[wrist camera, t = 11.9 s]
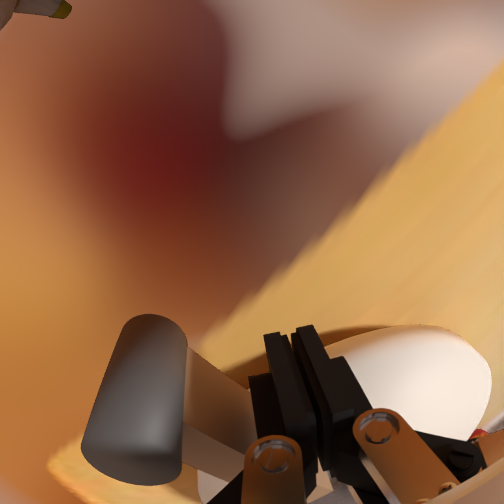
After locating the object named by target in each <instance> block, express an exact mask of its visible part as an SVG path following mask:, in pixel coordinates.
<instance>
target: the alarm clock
mask: <svg viewBox="0 0 504 504" xmlns="http://www.w3.org/2000/svg"><path fill="white" fill-rule="evenodd" d="M71 9H72V6H71V5H70V4H68V3H67V2H66V1H65V0H0V30H1V29H2V28H3V27H4V26H5V25H6V23H7V22H8V21H9V20H10V18H11V16H12V14H13V12H15V13H26V14H35V15H44V16H49V17H52V18H61V19H64V18H66V17H67V16H68V15H69V13H70V12H71Z"/></svg>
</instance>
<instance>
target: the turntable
mask: <svg viewBox="0 0 504 504" xmlns="http://www.w3.org/2000/svg"><path fill="white" fill-rule="evenodd" d="M324 348H325V350H326V352H327V354H328V356H329V358H330V359H331V358H335V357H339V356H343V357H344V358H345V359H346V361H347V362H348V364H349V366H350V368H351V370H352V371H353V373H354V375H355V377H356V378H357V380H358V382H359V384H360V386H361V387H362V389H363V391H364V393H365V395H366V396H367V398H368V400H369V402H370V404H371V406H372V407H373V409H375V408H386V409H391V410H393V411H396V412H397V413H398V414H400V415H401V416H402V417H403V418H404V420H405V421H406V422H407V423H408V424H409V425H410V426H411V427H412V429H413V430H416V431H420V432H424V433H429V434H433V435H438V436H442V437H447V438H452V439H457V440H463V441H467V440H468V439H469V437H470V436H471V434H472V433H473V431H474V430H475V428H476V427H477V425H478V423H479V422H480V420H481V418H482V416H483V414H484V412H485V409H486V406H487V404H488V401H489V397H490V392H491V382H492V378H491V372H490V369H489V366H488V364H487V362H486V361H485V360H484V358H483V357H482V356H481V355H480V354H479V353H478V352H477V351H476V350H474V349H473V348H472V347H471V346H470V345H469V344H468V343H467V342H466V341H465V340H464V339H463V338H461V337H460V336H459V335H457V334H455V333H454V332H452V331H450V330H447V329H444V328H441V327H438V326H430V325H421V324H419V325H400V326H394V327H389V328H383V329H377V330H374V331H370V332H366V333H363V334H359V335H355V336H352V337H349V338H347V339H344V340H341V341H338V342H336V343H333V344H330V345H327V346H325V347H324ZM256 440H258V439H257V432H256V426H255V419H254V413H253V406H252V399H251V393H250V388H249V389H248V390H246V389H245V388H243V387H242V386H241V385H239V384H238V383H236V382H235V381H234V380H232V379H231V378H229V377H228V376H227V375H225V374H224V373H222V372H221V371H220V370H218V369H217V368H216V367H214V366H213V365H212V364H210V363H209V362H208V361H206V360H205V359H204V358H202V357H201V356H200V355H198V354H197V353H196V352H194V351H193V350H192V349H191V348H189V347H188V344H187V339H186V336H185V334H184V333H183V331H182V329H181V328H180V327H179V326H178V325H177V324H176V323H174V322H173V321H171V320H170V319H168V318H165V317H163V316H159V315H155V314H143V315H138V316H136V317H133V318H132V319H130V320H129V321H128V322H127V323H126V324H125V325H124V327H123V328H122V331H121V333H120V336H119V338H118V341H117V343H116V346H115V348H114V351H113V353H112V356H111V359H110V361H109V364H108V367H107V369H106V372H105V375H104V377H103V380H102V383H101V386H100V388H99V391H98V394H97V397H96V400H95V403H94V406H93V409H92V411H91V415H90V418H89V421H88V424H87V427H86V430H85V433H84V436H83V439H82V443H81V451H82V454H83V456H84V457H85V459H86V460H87V461H88V462H89V463H90V464H91V465H92V466H93V467H94V468H96V469H97V470H98V471H100V472H101V473H103V474H105V475H107V476H109V477H111V478H114V479H116V480H119V481H122V482H126V483H130V484H135V485H144V486H154V485H162V484H166V483H169V482H171V481H173V480H175V479H176V478H177V477H178V476H179V475H180V473H181V470H182V462H183V463H185V464H187V465H190V466H192V467H194V468H196V469H197V473H198V493H199V496H200V499H201V501H202V503H203V504H207V503H208V502H209V501H210V500H211V499H212V498H213V497H214V496H215V495H217V494H218V493H219V492H220V491H221V490H222V489H223V488H224V487H225V486H226V485H227V484H228V483H229V482H230V481H232V480H233V479H234V478H235V477H236V476H237V475H238V474H239V473H240V472H241V471H242V470H243V469H244V459H245V454H246V451H247V450H248V448H249V447H250V445H251V444H253V443H254V442H255V441H256ZM316 484H317V487H316V488H315V489H314V490H313V492H312V493H311V494H310V496H309V497H308V498H307V504H308V503H310V502H312V501H314V500H316V499H318V498H320V497H322V496H324V495H326V494H328V493H330V492H332V491H333V488H332V485H331V482H330V479H329V477H328V474H327V471H324V472H323V470H322V468H321V465H320V462H319V459H318V473H316Z"/></svg>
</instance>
